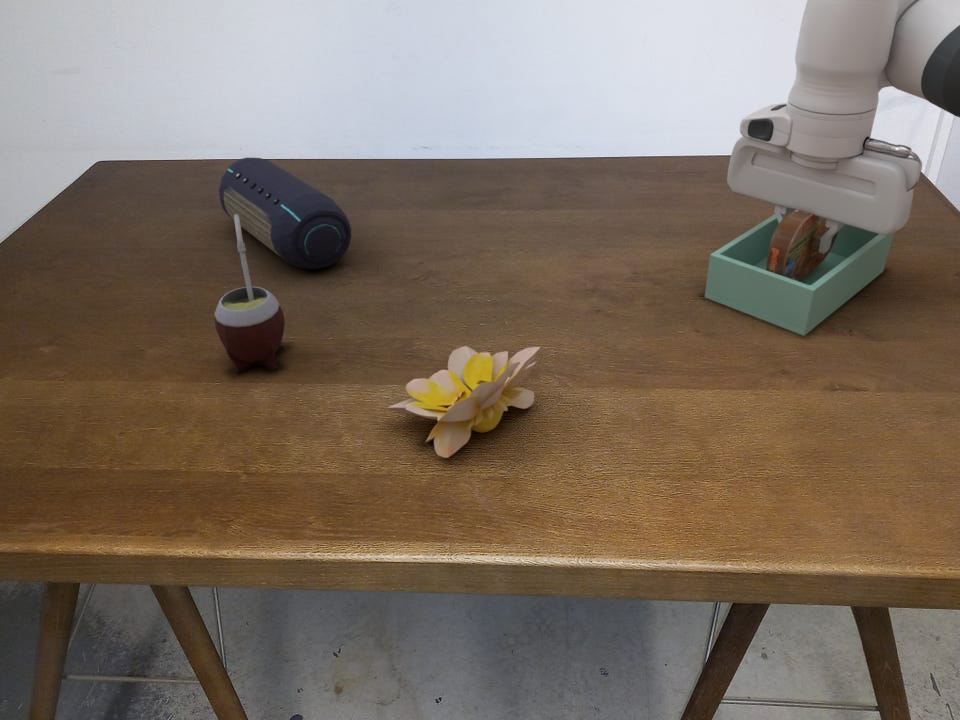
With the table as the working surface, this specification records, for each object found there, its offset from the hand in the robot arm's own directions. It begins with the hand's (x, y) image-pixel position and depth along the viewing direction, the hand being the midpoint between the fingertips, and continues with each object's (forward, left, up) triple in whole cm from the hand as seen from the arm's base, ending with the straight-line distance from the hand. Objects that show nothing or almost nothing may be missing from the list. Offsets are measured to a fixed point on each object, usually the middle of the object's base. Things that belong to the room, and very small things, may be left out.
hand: (803, 245), depth 95 cm
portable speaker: (+57, +35, -6) cm, 67 cm away
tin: (0, 0, -4) cm, 4 cm away
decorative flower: (+10, +44, -6) cm, 46 cm away
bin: (0, 0, -5) cm, 5 cm away
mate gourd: (+35, +53, -5) cm, 64 cm away
